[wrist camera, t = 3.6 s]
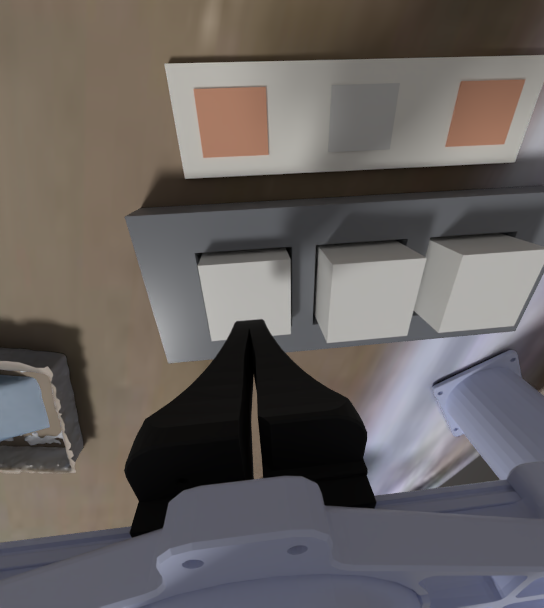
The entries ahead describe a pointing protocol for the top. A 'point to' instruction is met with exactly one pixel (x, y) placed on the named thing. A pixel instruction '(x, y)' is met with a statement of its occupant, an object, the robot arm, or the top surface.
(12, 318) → the top surface
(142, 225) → the button board
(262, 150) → the pattern card
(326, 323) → the middle button
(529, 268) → the button
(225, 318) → the button
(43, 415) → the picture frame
